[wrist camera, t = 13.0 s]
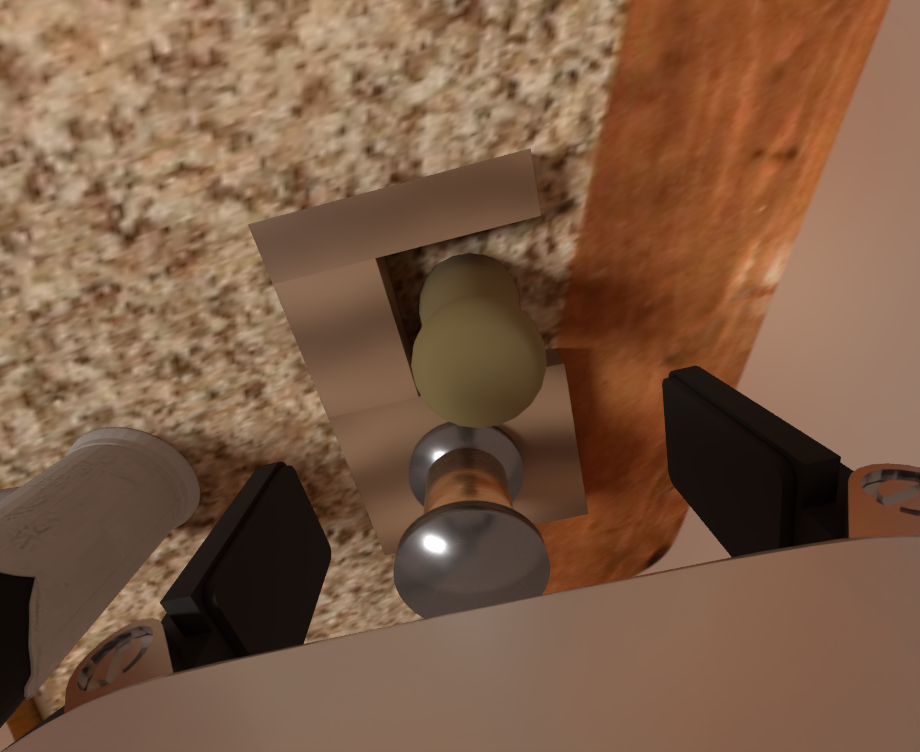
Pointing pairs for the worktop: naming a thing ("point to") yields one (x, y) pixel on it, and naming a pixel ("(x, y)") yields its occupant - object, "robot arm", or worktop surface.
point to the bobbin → (468, 525)
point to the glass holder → (80, 545)
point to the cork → (476, 344)
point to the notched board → (386, 340)
